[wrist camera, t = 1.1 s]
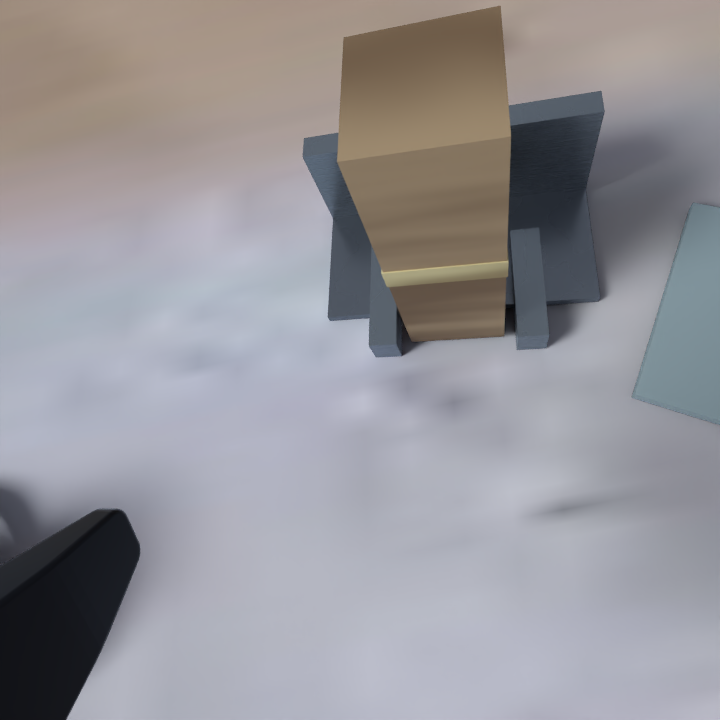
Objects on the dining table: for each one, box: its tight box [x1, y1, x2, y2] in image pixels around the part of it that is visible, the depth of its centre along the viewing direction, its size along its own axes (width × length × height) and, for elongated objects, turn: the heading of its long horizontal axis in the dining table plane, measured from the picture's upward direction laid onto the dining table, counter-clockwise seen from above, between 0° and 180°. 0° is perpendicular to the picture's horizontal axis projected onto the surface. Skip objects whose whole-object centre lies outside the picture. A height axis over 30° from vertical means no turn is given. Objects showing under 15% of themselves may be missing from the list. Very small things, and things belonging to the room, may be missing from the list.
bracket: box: [303, 91, 605, 357], centre depth 22 cm, size 8×12×5 cm
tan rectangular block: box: [337, 6, 511, 342], centre depth 18 cm, size 4×4×12 cm
